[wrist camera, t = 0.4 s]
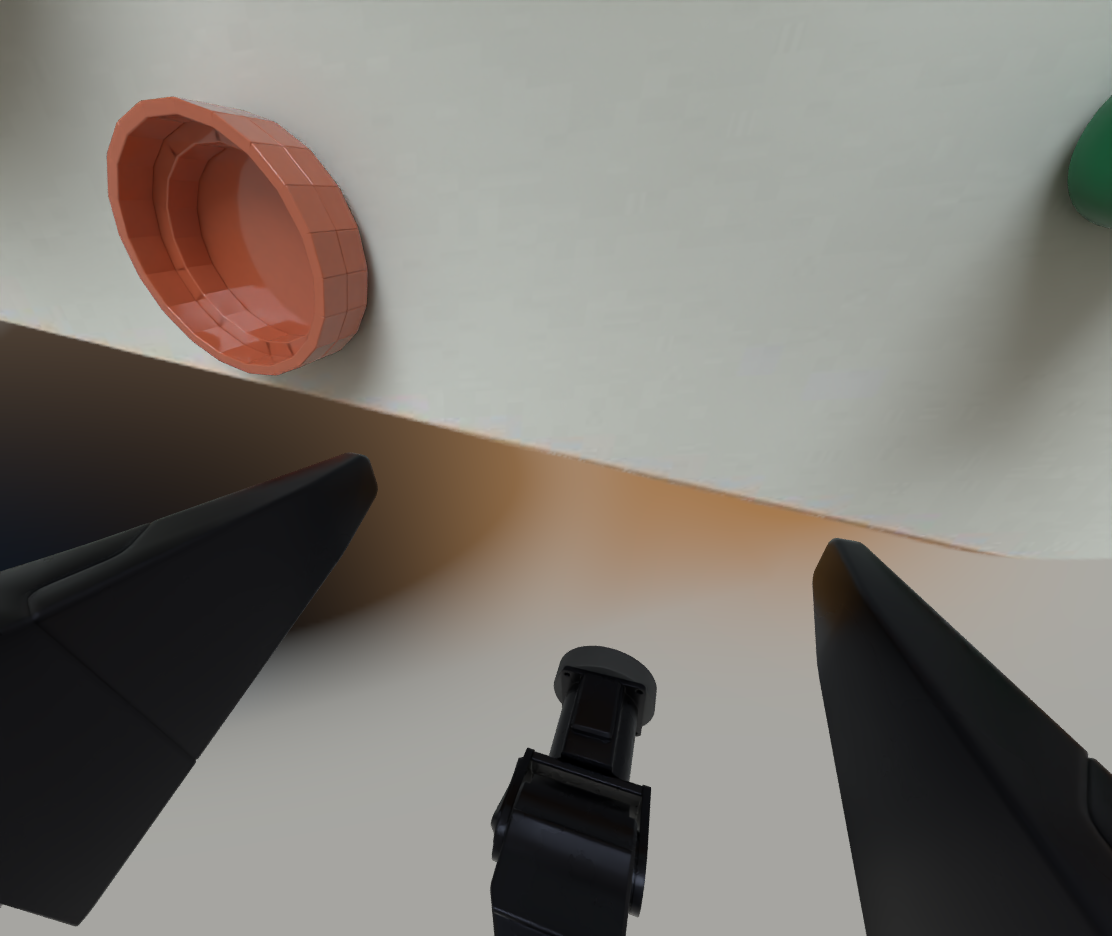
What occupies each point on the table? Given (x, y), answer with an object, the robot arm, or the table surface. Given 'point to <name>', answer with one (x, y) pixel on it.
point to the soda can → (1093, 169)
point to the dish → (237, 233)
